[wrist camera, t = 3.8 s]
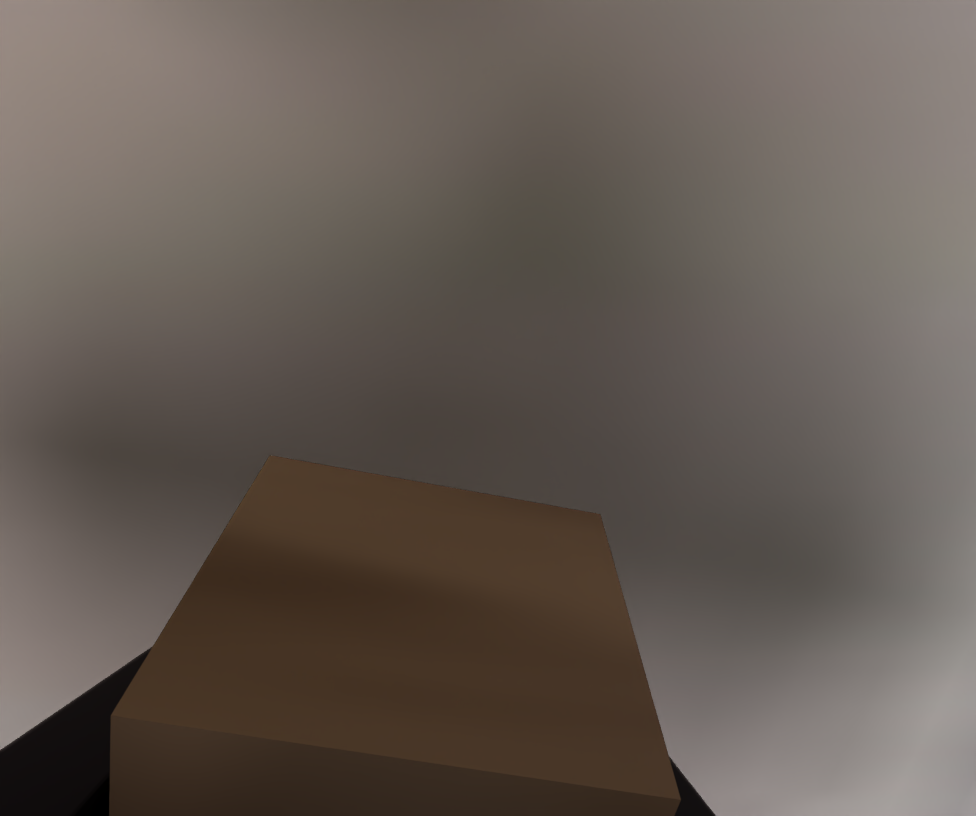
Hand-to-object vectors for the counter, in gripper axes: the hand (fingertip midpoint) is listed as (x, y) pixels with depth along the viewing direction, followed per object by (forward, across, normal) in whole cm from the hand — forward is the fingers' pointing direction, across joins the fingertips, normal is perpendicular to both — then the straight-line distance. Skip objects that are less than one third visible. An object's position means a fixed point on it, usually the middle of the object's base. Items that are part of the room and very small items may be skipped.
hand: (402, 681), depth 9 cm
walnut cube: (+1, 0, 0) cm, 1 cm away
